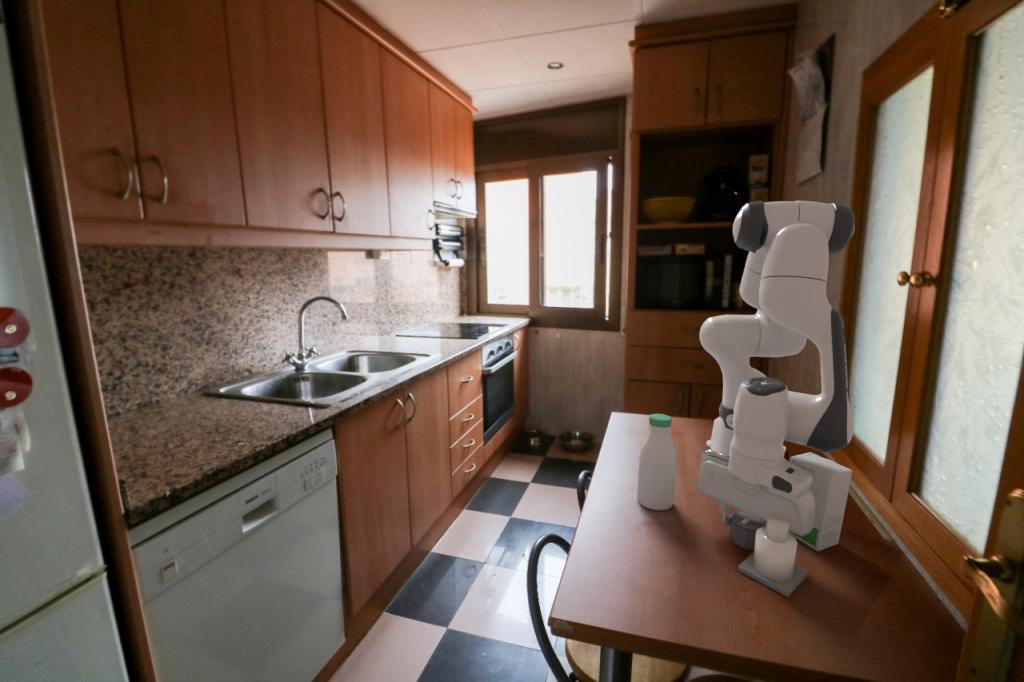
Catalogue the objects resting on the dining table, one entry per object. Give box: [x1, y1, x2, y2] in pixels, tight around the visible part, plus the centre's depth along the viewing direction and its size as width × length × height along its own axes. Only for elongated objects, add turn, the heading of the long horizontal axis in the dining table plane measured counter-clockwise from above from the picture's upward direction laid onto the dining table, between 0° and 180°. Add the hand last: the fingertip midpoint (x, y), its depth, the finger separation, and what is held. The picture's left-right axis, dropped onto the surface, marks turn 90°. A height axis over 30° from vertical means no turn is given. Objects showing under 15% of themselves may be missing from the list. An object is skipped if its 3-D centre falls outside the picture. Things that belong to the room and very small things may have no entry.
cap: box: [728, 510, 766, 550], centre depth 86 cm, size 6×6×5 cm
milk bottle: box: [636, 413, 677, 511], centre depth 98 cm, size 8×8×20 cm
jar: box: [737, 516, 808, 598], centre depth 76 cm, size 8×8×10 cm
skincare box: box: [788, 451, 853, 552], centre depth 86 cm, size 8×7×16 cm
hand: (747, 532), depth 86 cm, fingers open, 6 cm apart
